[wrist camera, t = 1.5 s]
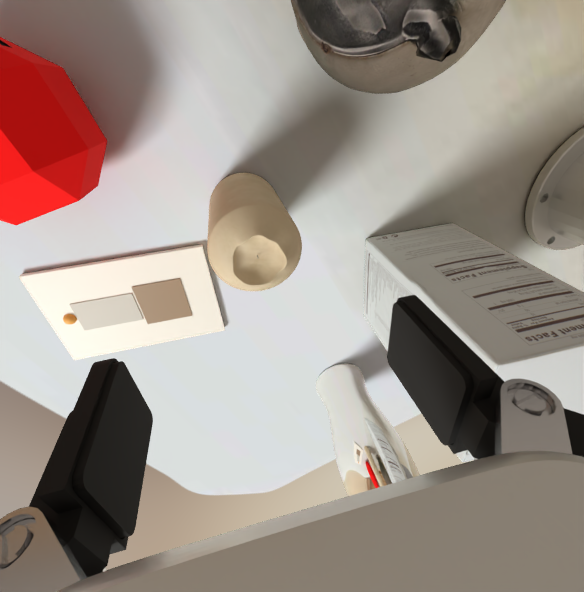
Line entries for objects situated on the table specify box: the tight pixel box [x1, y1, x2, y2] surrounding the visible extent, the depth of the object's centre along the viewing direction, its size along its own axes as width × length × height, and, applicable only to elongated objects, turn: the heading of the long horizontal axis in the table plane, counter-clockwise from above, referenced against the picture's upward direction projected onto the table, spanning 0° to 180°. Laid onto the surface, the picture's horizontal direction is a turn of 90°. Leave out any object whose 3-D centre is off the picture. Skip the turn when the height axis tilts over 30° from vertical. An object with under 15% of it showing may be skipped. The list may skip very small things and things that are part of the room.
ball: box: [0, 37, 107, 225], centre depth 17 cm, size 8×8×8 cm
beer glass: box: [316, 364, 420, 496], centre depth 33 cm, size 7×7×15 cm
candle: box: [207, 173, 302, 291], centre depth 21 cm, size 6×6×10 cm
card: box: [19, 244, 225, 360], centre depth 28 cm, size 14×9×1 cm, turn 94°
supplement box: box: [363, 223, 584, 462], centre depth 25 cm, size 10×9×17 cm
